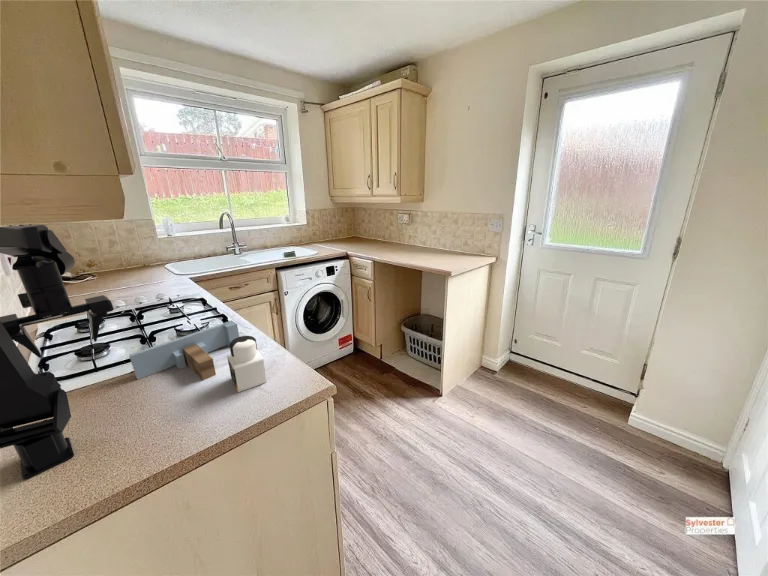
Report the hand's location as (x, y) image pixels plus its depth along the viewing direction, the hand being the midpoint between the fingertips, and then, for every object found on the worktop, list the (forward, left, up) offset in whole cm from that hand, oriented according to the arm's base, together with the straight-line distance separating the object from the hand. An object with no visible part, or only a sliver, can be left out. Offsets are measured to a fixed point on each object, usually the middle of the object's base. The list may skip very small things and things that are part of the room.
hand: (68, 348), depth 71 cm
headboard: (-6, -22, -12) cm, 26 cm away
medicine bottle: (-26, -28, -12) cm, 40 cm away
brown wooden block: (-11, -22, -12) cm, 27 cm away
